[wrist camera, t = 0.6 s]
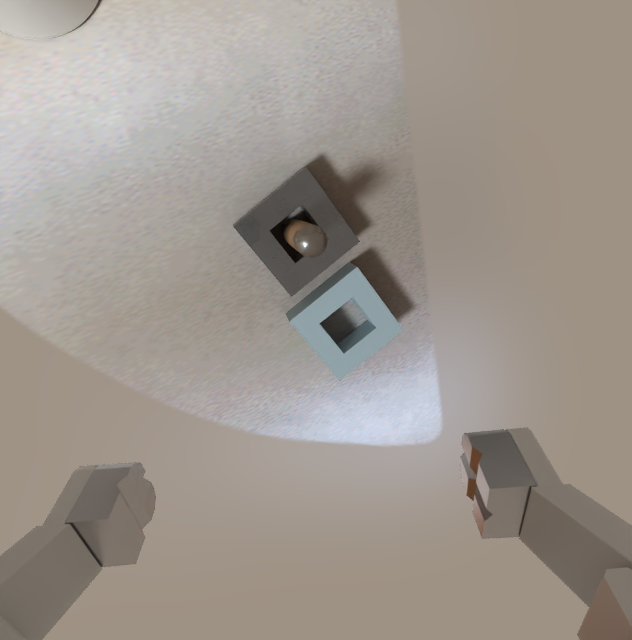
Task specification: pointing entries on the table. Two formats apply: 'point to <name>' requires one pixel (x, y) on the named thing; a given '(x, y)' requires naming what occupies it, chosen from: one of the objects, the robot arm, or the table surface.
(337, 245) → the socket block
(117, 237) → the table surface
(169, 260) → the table surface
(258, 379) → the table surface
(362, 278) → the block
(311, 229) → the peg
